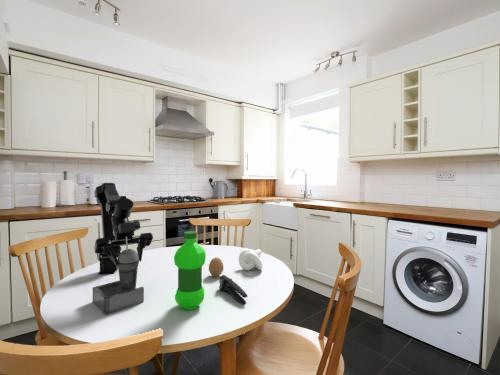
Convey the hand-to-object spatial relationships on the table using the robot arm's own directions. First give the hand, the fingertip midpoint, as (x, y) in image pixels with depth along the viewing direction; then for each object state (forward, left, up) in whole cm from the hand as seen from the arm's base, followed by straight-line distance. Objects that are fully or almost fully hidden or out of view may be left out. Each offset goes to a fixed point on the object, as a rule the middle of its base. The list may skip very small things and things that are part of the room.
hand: (129, 263), depth 90 cm
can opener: (+36, -1, -14) cm, 39 cm away
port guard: (-3, 0, -13) cm, 14 cm away
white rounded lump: (+49, +27, -14) cm, 58 cm away
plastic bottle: (+21, -7, -13) cm, 26 cm away
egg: (+31, +19, -13) cm, 39 cm away
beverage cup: (-1, +1, -11) cm, 11 cm away
